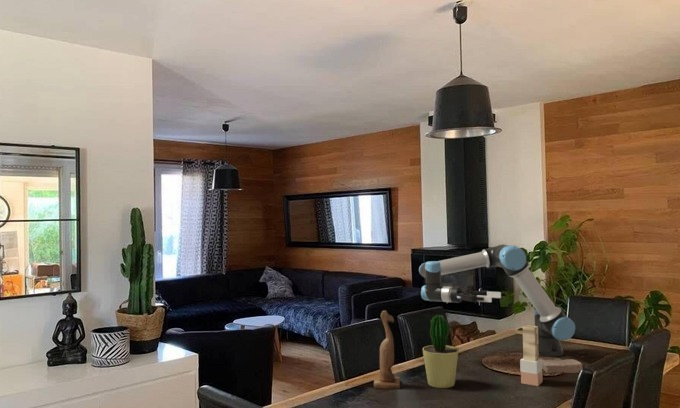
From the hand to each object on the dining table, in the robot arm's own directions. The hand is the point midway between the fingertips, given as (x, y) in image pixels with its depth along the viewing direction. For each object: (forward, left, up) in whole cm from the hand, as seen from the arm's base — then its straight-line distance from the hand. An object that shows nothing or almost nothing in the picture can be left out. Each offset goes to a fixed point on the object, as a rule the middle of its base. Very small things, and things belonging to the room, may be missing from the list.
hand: (496, 297), depth 236 cm
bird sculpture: (+41, -35, -35) cm, 64 cm away
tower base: (+5, +16, -35) cm, 39 cm away
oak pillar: (+5, +16, -25) cm, 30 cm away
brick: (-19, +23, -35) cm, 46 cm away
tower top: (+5, +16, -30) cm, 34 cm away
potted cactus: (+27, -16, -35) cm, 47 cm away
